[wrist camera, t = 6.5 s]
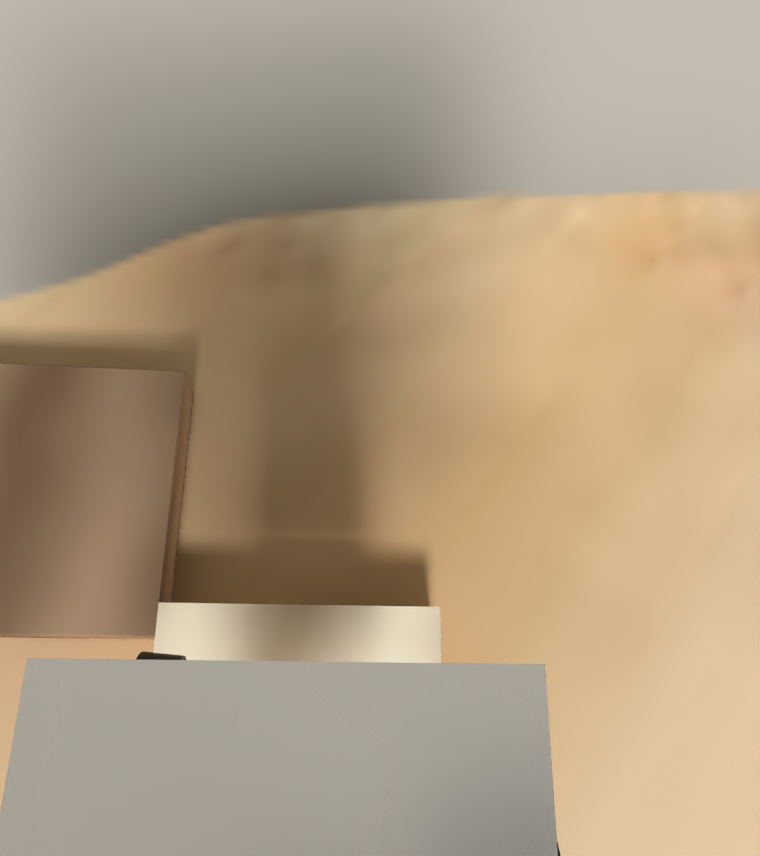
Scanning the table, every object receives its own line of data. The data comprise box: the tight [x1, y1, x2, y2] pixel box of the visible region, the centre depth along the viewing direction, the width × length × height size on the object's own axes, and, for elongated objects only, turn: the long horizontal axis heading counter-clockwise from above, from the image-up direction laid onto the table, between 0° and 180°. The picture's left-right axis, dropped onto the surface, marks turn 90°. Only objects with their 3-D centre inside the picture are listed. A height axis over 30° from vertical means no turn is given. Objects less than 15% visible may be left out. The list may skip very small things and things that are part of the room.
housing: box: [0, 658, 558, 856], centre depth 11 cm, size 5×5×10 cm
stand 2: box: [153, 602, 441, 663], centre depth 22 cm, size 9×9×2 cm
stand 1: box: [0, 364, 193, 639], centre depth 24 cm, size 9×9×2 cm
